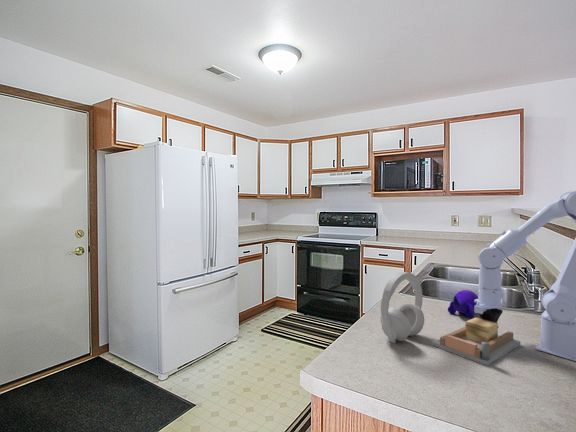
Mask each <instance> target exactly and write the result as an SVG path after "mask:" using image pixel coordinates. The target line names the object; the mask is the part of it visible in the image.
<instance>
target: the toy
mask: <svg viewBox="0 0 576 432" xmlns="http://www.w3.org/2000/svg"><path fill="white" fill-rule="evenodd" d="M452 298H453V299H452V301H450V303H449V306H448V307H447V312H448V313H449V314H450V315H455V314H456V313H457V312H458V313H461V314H463V315H465V317H467V318H468V319H473V318H475V317H474V316H475V315H474V313H475V312H474V306H475V305H476V304H477V302H474V300H475V299H479V295H477V294H476V293H475V292H474V291H472V290H469V289H462V290H459V291H458V292H457V293H455V294H454V296H453V297H452Z"/></svg>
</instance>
